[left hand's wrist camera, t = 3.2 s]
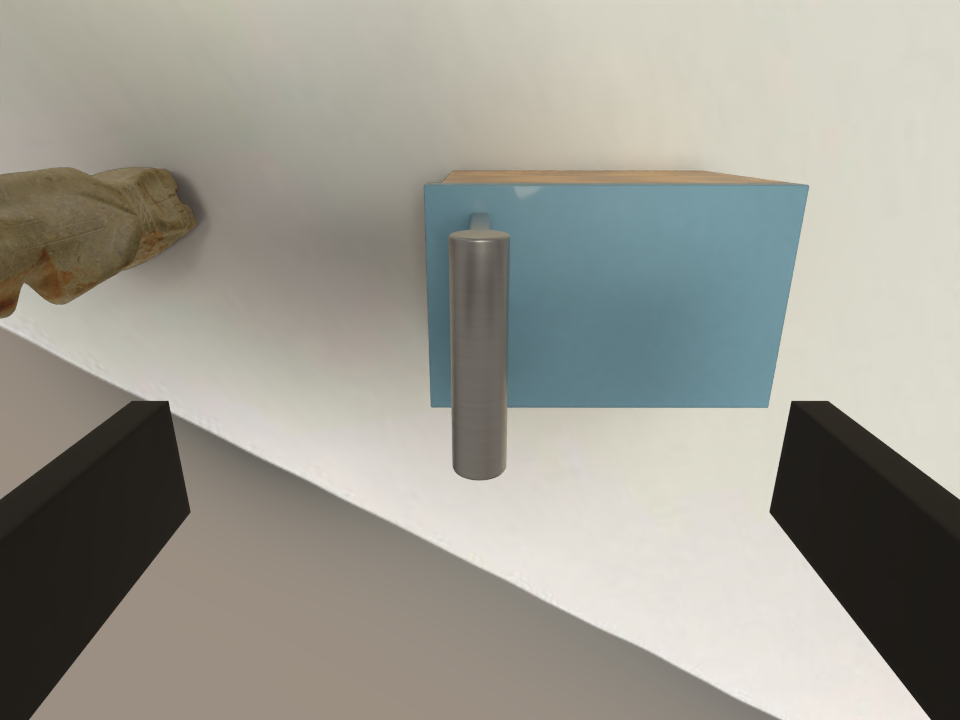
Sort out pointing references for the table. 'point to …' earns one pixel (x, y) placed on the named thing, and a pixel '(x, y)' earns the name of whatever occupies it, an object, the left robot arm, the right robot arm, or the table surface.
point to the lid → (602, 299)
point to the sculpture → (82, 228)
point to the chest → (598, 177)
